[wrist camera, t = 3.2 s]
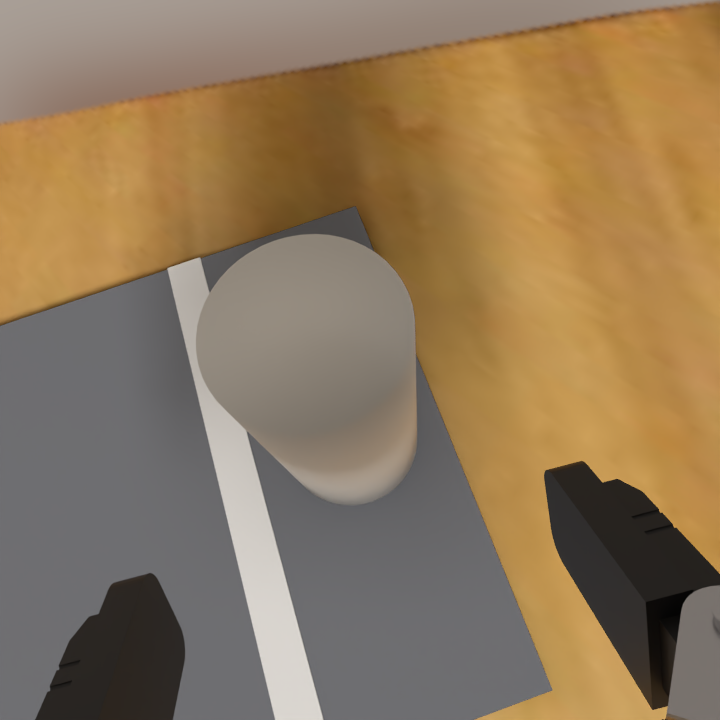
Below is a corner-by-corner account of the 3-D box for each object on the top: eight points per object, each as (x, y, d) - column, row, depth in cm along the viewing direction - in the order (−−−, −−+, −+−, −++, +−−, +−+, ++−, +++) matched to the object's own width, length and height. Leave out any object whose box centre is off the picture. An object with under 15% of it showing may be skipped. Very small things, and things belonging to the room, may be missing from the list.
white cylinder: (390, 359, 24) (372, 207, 15) (437, 478, 22) (449, 390, 13) (271, 401, 24) (176, 273, 14) (307, 524, 22) (223, 469, 12)
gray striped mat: (356, 212, 27) (355, 204, 27) (549, 687, 20) (552, 690, 19) (-28, 342, 26) (-37, 336, 26) (17, 886, 19) (5, 895, 18)
